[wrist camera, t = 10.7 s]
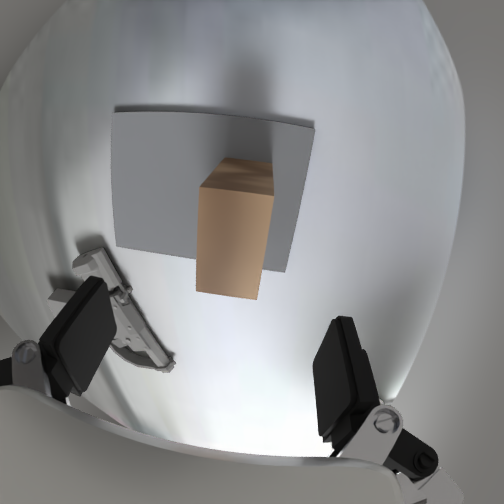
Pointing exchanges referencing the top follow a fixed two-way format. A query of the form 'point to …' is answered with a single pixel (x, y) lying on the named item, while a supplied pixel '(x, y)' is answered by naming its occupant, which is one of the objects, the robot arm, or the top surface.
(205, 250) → the wooden block
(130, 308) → the pistol
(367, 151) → the top surface
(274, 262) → the rubber mat
